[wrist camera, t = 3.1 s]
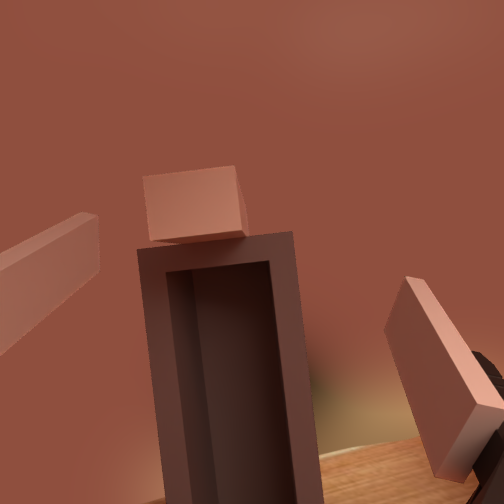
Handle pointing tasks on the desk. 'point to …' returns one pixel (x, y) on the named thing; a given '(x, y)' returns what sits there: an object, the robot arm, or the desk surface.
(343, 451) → the desk surface
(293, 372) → the tall stand
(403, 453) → the desk surface
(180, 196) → the pale pink long block
